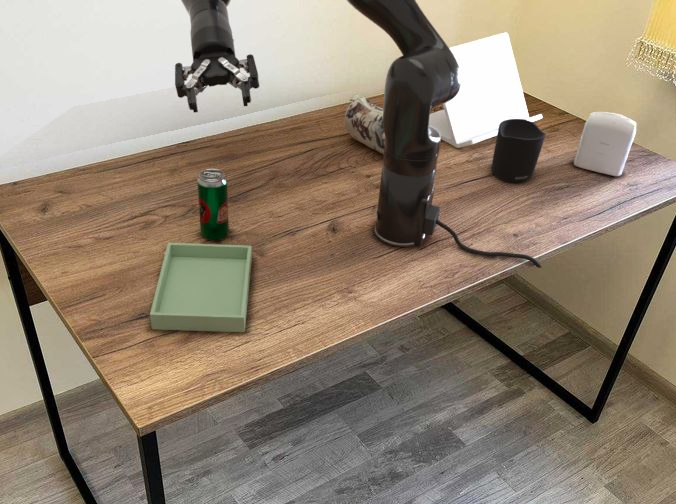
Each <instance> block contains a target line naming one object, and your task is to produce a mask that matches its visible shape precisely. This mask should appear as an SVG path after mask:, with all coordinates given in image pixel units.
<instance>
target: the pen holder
mask: <svg viewBox="0 0 676 504" xmlns="http://www.w3.org/2000/svg"><path fill="white" fill-rule="evenodd" d="M546 134H547V133H546V132H545V131H542V130H541V129H540V128H539V126H538V125H536V124H535V122H534V121H533V122H531V121H529V120H524V119H508V120H504V121H502V122H501V123H500V125H499V129H498V134H497V135H496V140H495V145H494V150H493V156H492V163H491V172H492V174H493V175H494V177H496V178H497V179H499V180H501V181H503V182H507V183H512V184H523V183H526V182H528V181H529V180H531V179H532V178H533V175H534V172H535V170H536V166H537V165H538V161H539V158H540V155H541V150H542V147H543V145H544V142H545V138H546V136H547V135H546Z"/></svg>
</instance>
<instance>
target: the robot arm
mask: <svg viewBox="0 0 676 504" xmlns="http://www.w3.org/2000/svg"><path fill="white" fill-rule="evenodd" d="M231 1H232V0H180V2H181V3H182V4H183V7H184V8H185V10H186V13H187V14H188V16H189V22H190V31H189V32H190V44H191V45H190V46H191V53H192V63H191V65H187V66H183V63H181V62H177V63H175V65H174V87H175V91H176V94H177V97H178V98H180V99H181V98H184V97H186V99H187V103H188V104H187V105H188V109H189V110H190V111H193V113H198V112H199V109H198V100H197V99H198V98H197V96H198V95H199V93H203V92H204V90H206V89H207V87H210V88H211V87H215V86H225V85H226V86H227V85H228V84H229V85H231V87H233V88H235V89H239V90H240V91H241V97H242V103H243V107H248V106H249V105H248V104H249V103H250V104H251V102H252V96H251V91H250V90H251V89H256V90H257V89H259V88H260V82H259V74H258V73H259V72H258V68H257V65H256V61H255V57H254V55H253V54H247V55H246V58H245V59H239V58H237V56H236V49H235V43H234V42H235V40H234V37H233V31H232V27H231V24H230V20H229V12H228V7H229V5H230V3H231ZM346 2H347V4H349V5H350V6H351V7H352V8H353V9H355V10H356V11H357V12H358V13H360V14H361V15H363V16H364V17H365V18H367V19H368V20H369V21H370V22H372V23H373V24H375V25H376V26H377V27H379V28H380V29H381V30H382V31H384V32H385V33H386V34H387V35H388V36H389V38H391V40H392V41H393V42H394V44H395V45H396V46H397V48H398V50H399V51H400V53H401V54H402V55H401V56H399V57H397V58H395V60H393V61H392V63H391V64H390V65H389V67H388V70H387V72H386V73H387V74H386V77H385V83H384V93H383V108H382V109H383V130H384V133H385V149H384V154H383V158H382V166H381V175H380V184H379V190H378V191H379V192H378V200H377V206H376V208H374V211H375V212H374V214H375V223H374V227H373V228H374V230H373V231H374V235H375V237H376V238H377V239H378V240H379V241H381V242H382V243H384V244H387V245H389V246H392V247H397V248H409V247H417V248H421V246H422V244H423V242H424V240H425V238H426V235H428V236H432V235H433V233H434V231H435V229H436V227H437V226H439V227H441V228H442V229H443V230H445V231H446V232H448V233H449V234H450V235H451V236H452V237H453V239H454V242H455V244H456V245H457V246H458V247H459V248H460V249H462V250H463V251H465V252H467V253H469V254H474V255H478V256H484V257H505V258H512V259H522V260H527V261H529V262H531V263H532V264H533V265H534V266H535V267H536V268H539V269H541V268H542V265H541V263H540V262H539V261H538V260H537V259H536V258H535V257H533V256H530V255H527V254H523V253H513V252H507V251H506V252H504V251H484V250H479V249H474V248H472V247H468V246H466V245H465V244H464V243H462V242H461V241H460V239H459V236H458V235H457V233H456V232H455V230H453V229H452V228H451V227H450V226H448V225H447V224H445V223H444V222H442V221H440V220H439V217H440V212H441V206H437V205H433V200H434V196H435V195H434V194H435V189H436V186H435V185H434V182H435V177H436V172H437V171H436V170H437V164H438V160H439V154H440V149H441V143H442V142H441V140H442V139H441V136H440V133H439V132H438V130H437V129H435V128H434V127H432V126H430V125H429V117H430V114H431V111H432V110H433V109H435V108H438V107H441V106H443V104H445V103H447V102H449V101H451V100H452V99H453V98H454V97H455V96H456V95H457V94H458V92H459V90H460V86H461V73H460V69H459V65H458V63H457V61H456V59H455V57H454V55H453V53H452V52H451V50H450V49H449V48H450V47H449V46H448V44H447V43H446V42H445V40H444V39H443V37H442V36H441V35H440V33H439V32H438V31H437V29H436V28H435V26H434V25H433V24H432V23H431V22H430V20H429V19H428V17H427V16H426V15H425V13H424V11H423V9H421V7H420V6H419V4H418V2H417V0H346ZM241 69H243V71H245V72H246V74H248V75H249V76H247V75H245V74H244V73H242V72H241ZM190 75H191V78H190V80H189V81H188V78H189V76H190ZM187 81H188V82H187ZM186 82H187V83H186ZM185 83H186V84H185Z"/></svg>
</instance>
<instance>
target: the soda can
mask: <svg viewBox="0 0 676 504" xmlns="http://www.w3.org/2000/svg"><path fill="white" fill-rule="evenodd" d="M196 184H197V185H196V186H197V200H198V213H199V214H198V215H199V230H200V234H201V236H202V237H203V238H204V239H205V240H207V241H211V242H217V241H222V240H224V239H226V237H227V236H228V235H229V233H230V223H229V220H230V219H229V197H228V195H229V193H228V178H227V177H226V175H225V172H224V171H223V170H221V169H217V168H207V169H204V170H201V171H200V172H199V174H198V178H197V179H196Z"/></svg>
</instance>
